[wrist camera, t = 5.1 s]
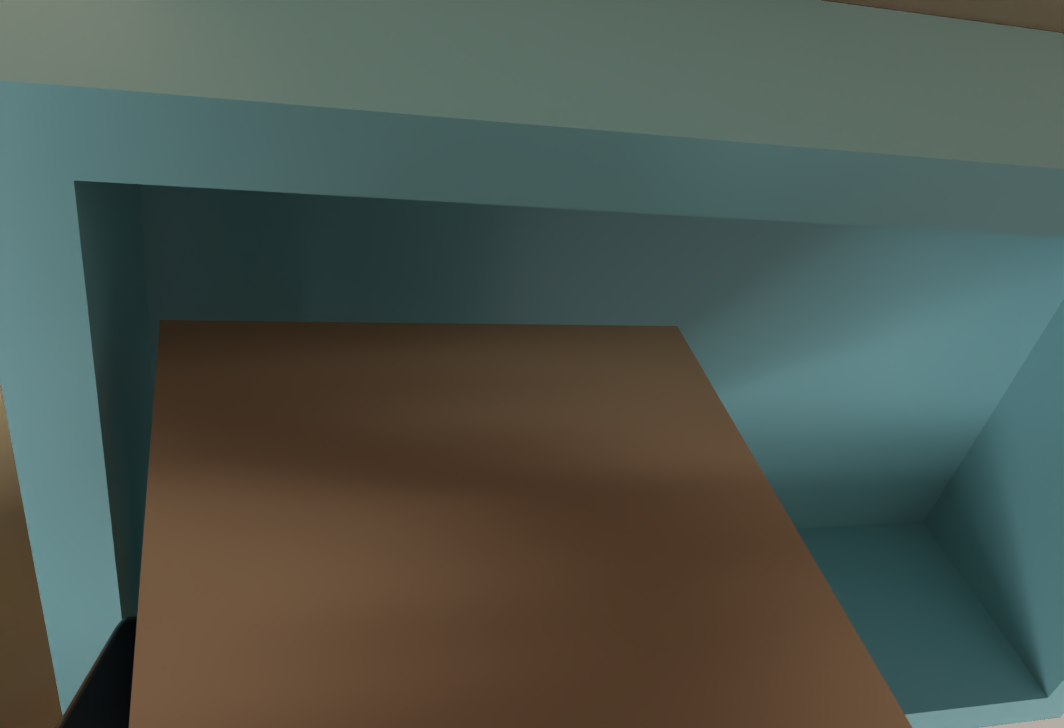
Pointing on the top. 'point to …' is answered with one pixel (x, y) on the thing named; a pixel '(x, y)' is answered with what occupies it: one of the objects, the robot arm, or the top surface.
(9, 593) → the top surface
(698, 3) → the box
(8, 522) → the top surface
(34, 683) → the top surface
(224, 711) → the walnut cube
